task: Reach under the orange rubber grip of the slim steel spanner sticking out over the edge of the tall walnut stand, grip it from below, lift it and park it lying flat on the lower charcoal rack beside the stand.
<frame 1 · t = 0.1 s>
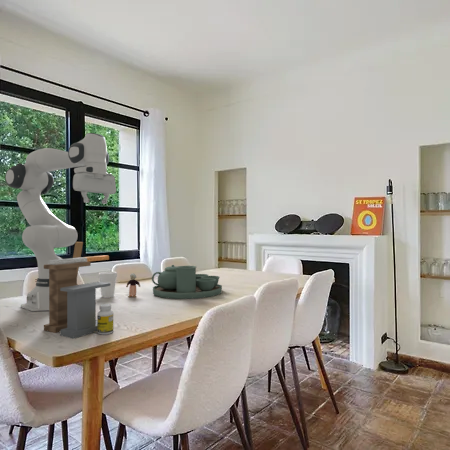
hand: (95, 203, 154), 48 cm above the table, tool pointing down, fingers open, 8 cm apart
tea set: (187, 293, 206), on the table
foam cup: (107, 296, 195), on the table
grandmother figurine: (133, 297, 194), on the table
spanner: (81, 261, 141), point 24 cm above the table, touching tall stand
tall stand: (68, 326, 135), on the table
hammer: (72, 291, 212), on the table
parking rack: (86, 331, 129), on the table
supplement bottle: (105, 333, 127), on the table
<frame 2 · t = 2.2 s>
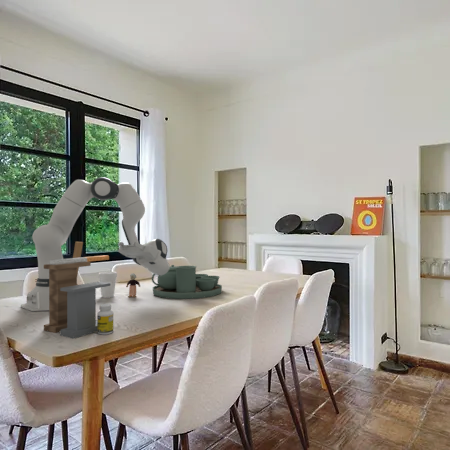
hand: (127, 243, 162), 30 cm above the table, tool pointing upward, fingers open, 8 cm apart
nothing on the table moved.
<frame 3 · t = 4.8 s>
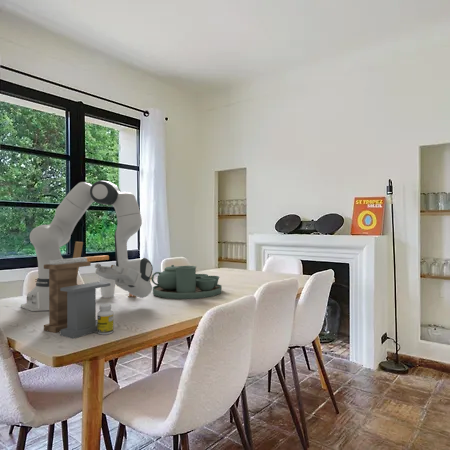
hand: (104, 265, 151), 21 cm above the table, tool pointing upward, fingers open, 8 cm apart
nothing on the table moved.
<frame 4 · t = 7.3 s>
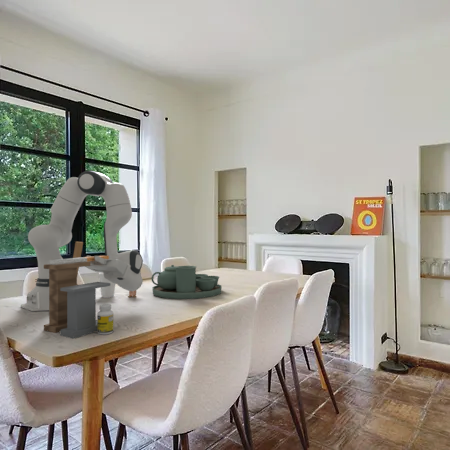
hand: (91, 257, 145), 25 cm above the table, tool pointing upward, fingers closed on spanner, 3 cm apart
spanner: (81, 261, 141), point 24 cm above the table, touching gripper, tall stand
everything else where it was.
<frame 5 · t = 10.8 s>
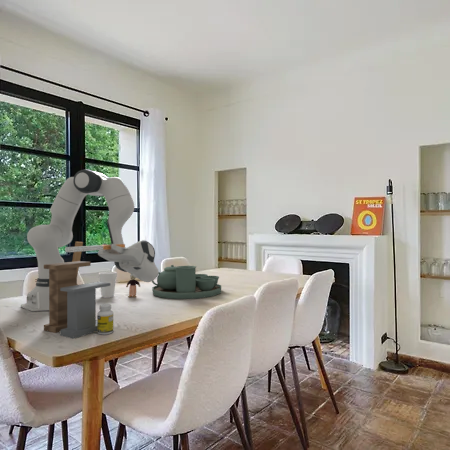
hand: (107, 245, 138), 31 cm above the table, tool pointing upward, fingers closed on spanner, 3 cm apart
spanner: (97, 249, 134), point 29 cm above the table, touching gripper
everything else where it was.
when the fingers open (19 cm above the table, at t = 14.2 s): spanner drops 1 cm, resting on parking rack.
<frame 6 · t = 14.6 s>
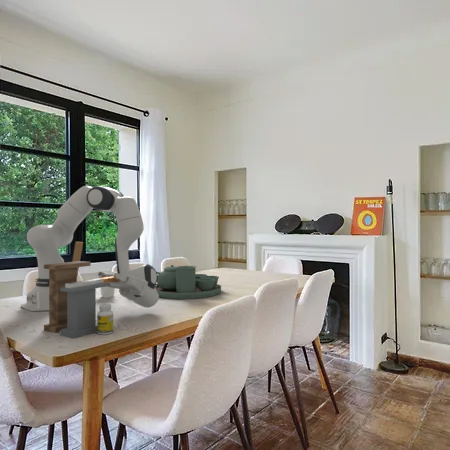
hand: (107, 274, 138), 19 cm above the table, tool pointing upward, fingers open, 7 cm apart
spanner: (97, 283, 134), point 16 cm above the table, touching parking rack
everything else where it was.
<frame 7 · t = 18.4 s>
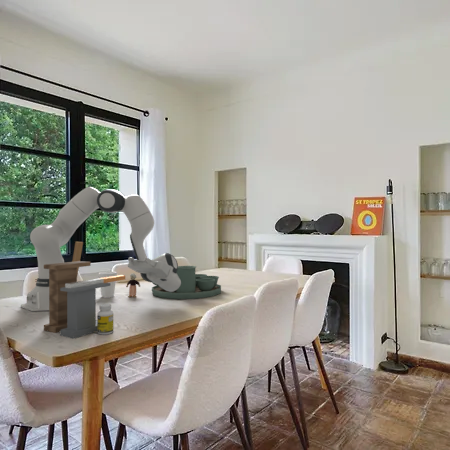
hand: (137, 259, 152), 24 cm above the table, tool pointing upward, fingers open, 8 cm apart
nothing on the table moved.
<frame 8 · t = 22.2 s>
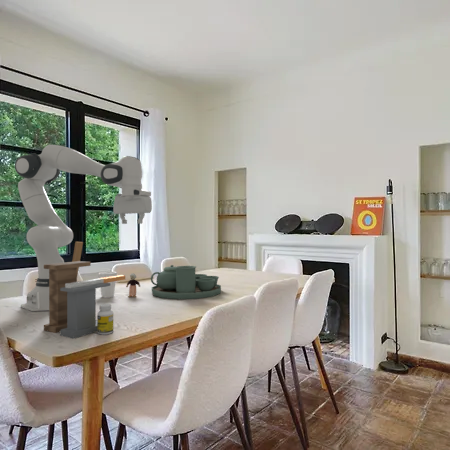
hand: (132, 223, 159), 39 cm above the table, tool pointing down, fingers open, 8 cm apart
nothing on the table moved.
at the end: spanner inside the target area on the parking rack (0.5 cm from its centre), point 16.5 cm above the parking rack's base; spanner tilted 0°; the gripper is holding nothing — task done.
